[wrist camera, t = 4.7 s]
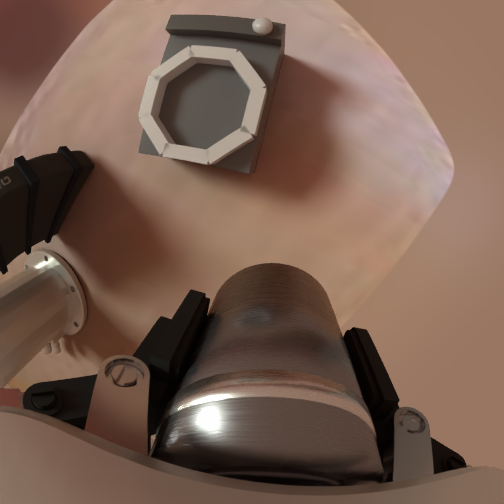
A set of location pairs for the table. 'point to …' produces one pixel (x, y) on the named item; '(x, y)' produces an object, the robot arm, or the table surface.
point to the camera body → (212, 90)
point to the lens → (271, 390)
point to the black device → (37, 199)
